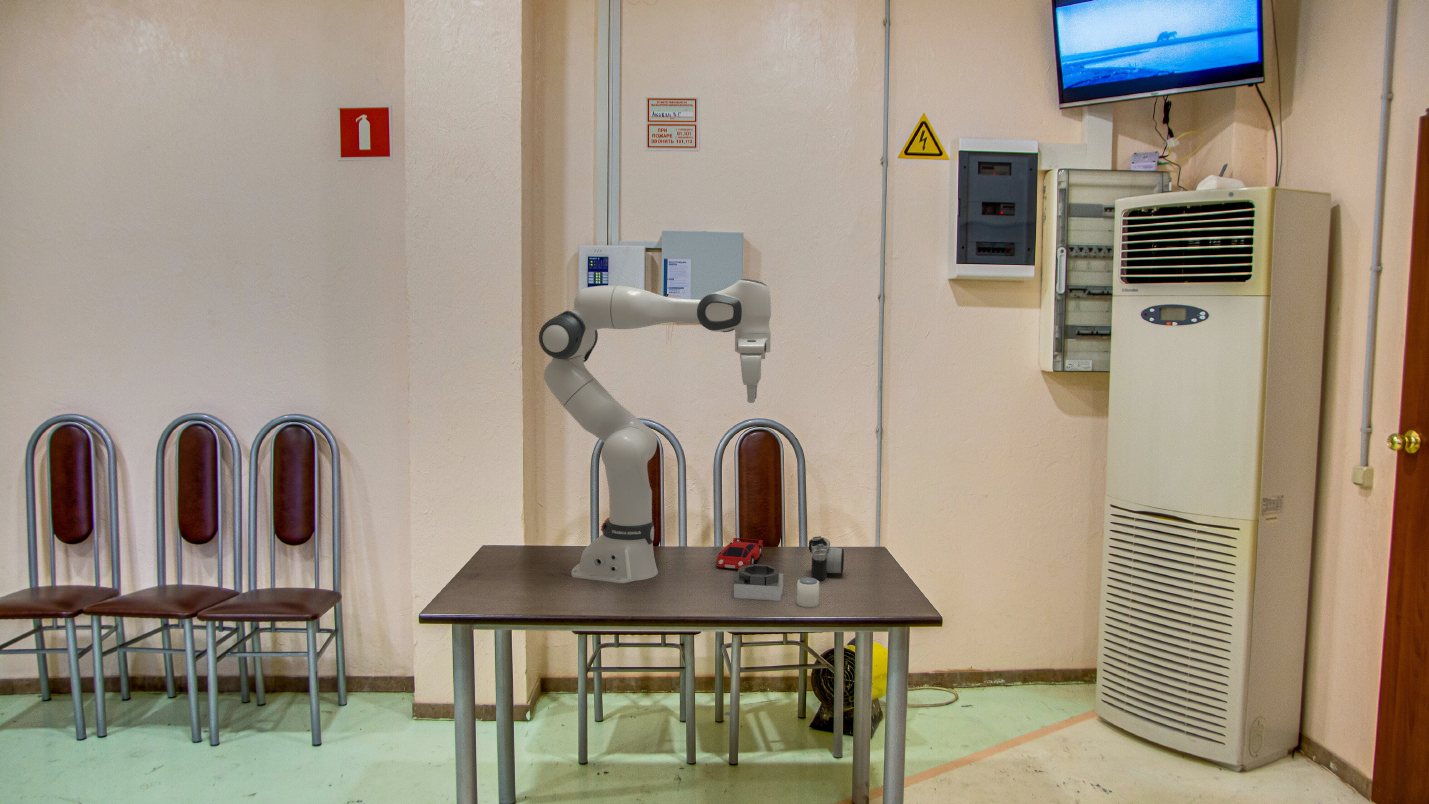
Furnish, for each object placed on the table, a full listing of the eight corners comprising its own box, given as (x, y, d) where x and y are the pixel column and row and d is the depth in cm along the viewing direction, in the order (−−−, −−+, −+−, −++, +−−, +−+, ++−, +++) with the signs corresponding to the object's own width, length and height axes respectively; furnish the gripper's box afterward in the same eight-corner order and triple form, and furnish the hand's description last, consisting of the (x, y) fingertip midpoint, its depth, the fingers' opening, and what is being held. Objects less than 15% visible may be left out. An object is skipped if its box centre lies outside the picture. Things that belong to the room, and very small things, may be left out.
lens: (796, 609, 180) (796, 582, 180) (797, 602, 185) (798, 576, 185) (818, 611, 180) (818, 584, 179) (818, 603, 184) (819, 577, 184)
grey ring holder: (733, 600, 186) (734, 575, 185) (739, 586, 196) (739, 562, 195) (780, 603, 184) (780, 578, 184) (783, 589, 194) (783, 565, 194)
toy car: (713, 570, 209) (713, 552, 209) (728, 549, 229) (729, 533, 228) (752, 573, 207) (752, 555, 206) (764, 552, 226) (764, 535, 226)
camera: (841, 586, 197) (842, 547, 196) (805, 583, 199) (806, 545, 198) (844, 567, 212) (845, 531, 211) (810, 565, 214) (811, 529, 213)
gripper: (742, 344, 205) (741, 396, 207) (737, 346, 185) (736, 404, 186) (766, 344, 205) (765, 397, 206) (764, 346, 184) (763, 404, 186)
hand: (752, 400), depth 196 cm, fingers open, 8 cm apart
